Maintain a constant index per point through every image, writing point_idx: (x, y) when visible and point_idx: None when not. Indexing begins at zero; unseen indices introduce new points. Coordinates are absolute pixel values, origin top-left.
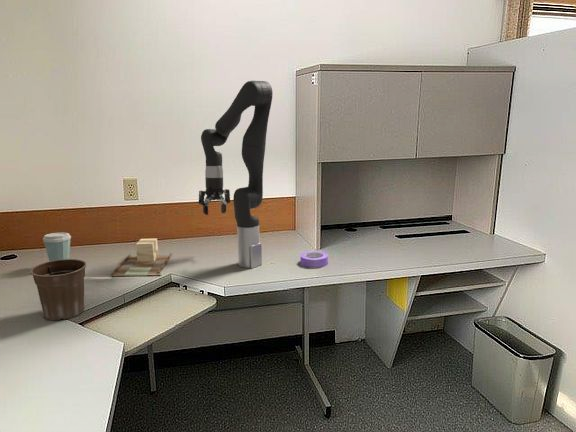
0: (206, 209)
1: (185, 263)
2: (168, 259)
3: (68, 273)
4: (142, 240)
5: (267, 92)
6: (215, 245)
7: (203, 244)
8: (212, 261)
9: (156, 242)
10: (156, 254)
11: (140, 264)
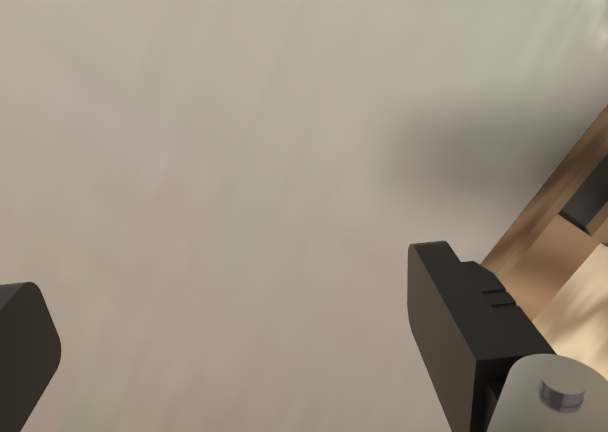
0: (486, 306)
1: (455, 146)
2: (536, 218)
3: None
4: None
5: None
6: (145, 372)
7: (205, 419)
8: (297, 76)
9: (599, 370)
10: (567, 307)
11: None
